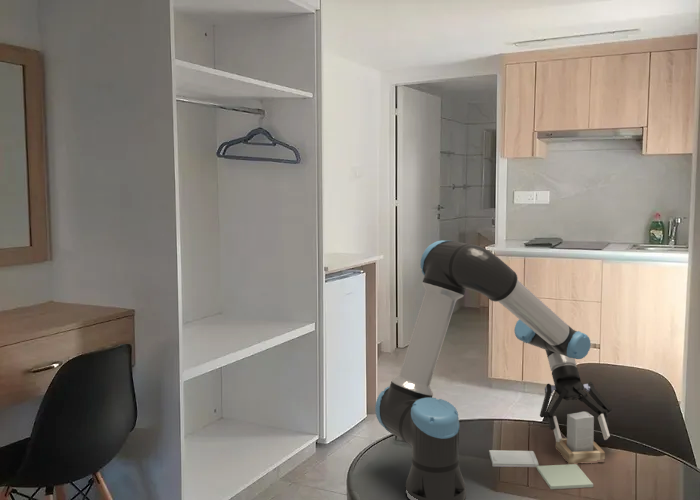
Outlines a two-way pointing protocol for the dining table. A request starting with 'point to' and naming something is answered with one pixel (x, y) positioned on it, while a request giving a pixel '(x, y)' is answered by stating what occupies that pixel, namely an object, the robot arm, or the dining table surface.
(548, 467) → the pad
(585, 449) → the skincare box
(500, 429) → the dining table surface
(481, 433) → the dining table surface
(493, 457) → the hard drive
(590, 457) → the cradle
